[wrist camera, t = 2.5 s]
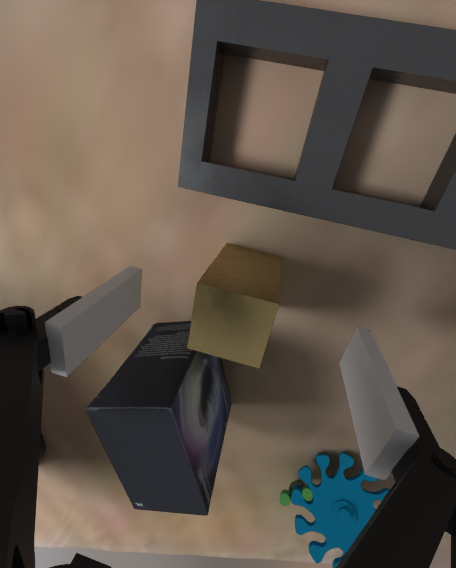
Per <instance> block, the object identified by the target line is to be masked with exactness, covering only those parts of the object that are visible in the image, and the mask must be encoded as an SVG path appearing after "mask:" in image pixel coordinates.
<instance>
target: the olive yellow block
mask: <svg viewBox="0 0 456 568" xmlns="http://www.w3.org/2000/svg"><path fill="white" fill-rule="evenodd" d="M281 262H282V257H281V256H277V255H273V254H269V253H264V252H260V251H256V250H252V249H248V248H244V247H240V246H236V245H231V244H227V243H226V245H225V246H224V247H223V249H222V250H221V251H220V253H219V254H218V255H217V257H216V258H215V260H214V261H213V262H212V264H211V265H210V266H209V268H208V269H207V270H206V272H205V273H204V274H203V276H202V277H201V279H200V280H199V281H198V283H197V288H196V294H195V301H194V308H193V314H192V321H191V327H190V334H189V340H188V347H187V348H188V349H192V350H196V351H199V352H203V353H206V354H210V355H213V356H217V357H220V358H224V359H227V360H231V361H234V362H238V363H241V364H245V365H248V366H252V367H255V368H260V365H261V361H262V358H263V355H264V352H265V349H266V345H267V342H268V339H269V336H270V332H271V329H272V326H273V323H274V320H275V316H276V313H277V310H278V307H279V300H280V281H281Z"/></svg>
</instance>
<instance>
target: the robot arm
mask: <svg viewBox="0 0 456 568" xmlns="http://www.w3.org/2000/svg"><path fill="white" fill-rule="evenodd" d="M141 279H142V269H141V268H137V267H133V266H130V267H128V268H127V269H125V270H123V271H122V272H120V273H119V274H117V275H116V276H114V277H113V278H111V279H110V280H108V281H107V282H105V283H104V284H102V285H101V286H99V287H98V288H96V289H95V290H93V291H91V292H90V293H88V294H87V295H85V296H84V297H81V296H76V297H73V298H70V299H67V300H66V301H64V302H63V303H61V304H60V305H58V306H56V307H55V308H53V310H52V309H51V310H50V311H48V312H47V313H45V314H43V315H42V316H40V317H38V318H37V319H35V314H34V310H33V309H32V308H30V307H26V306H14V307H8V308H5V309H3V310H1V311H0V568H35V552H34V532H35V515H36V499H37V482H38V465H39V461H40V460H41V459H42V457H43V455H44V451H45V448H44V442H43V439H42V437H41V435H40V432H41V415H42V398H43V381H44V371H43V368H44V367H45V366H47V365H48V364H49V363H50V365H51V372H52V373H55V374H58V375H61V376H64V377H68V376H69V375H70V374H71V373H72V372H73V371H74V370H75V369H76V368H77V367H78V366H79V365H80V364H81V363H82V362H83V361H84V360H85V359H86V358H87V357H88V356H89V355H90V354H91V353H92V352H94V351H95V350H96V349H97V348H98V347H99V346H100V345H101V344H102V343H103V342H104V341H105V340H106V339H107V338H108V337H109V336H110V335H111V334H112V333H113V332H114V331H115V330H116V329H117V328H118V327H119V326H120V325H121V324H123V323H124V322H125V321H126V320H127V319H128V318H129V317H130V316H131V315H132V314H133V313H134V312H135V311H136V310H137V309H138V308H139V307H140V300H141ZM339 364H340V368H341V373H342V377H343V381H344V386H345V390H346V394H347V399H348V403H349V407H350V412H351V416H352V420H353V425H354V429H355V433H356V438H357V442H358V446H359V451H360V455H361V459H362V464H363V468H364V472H365V475H369V476H372V477H375V478H378V479H381V480H384V481H385V480H386V479H387V477H388V476H389V475H390V474H391V472H392V473H393V477H394V480H395V484H394V485H393V487H392V488H391V489H390V490H389V491H388V493H387V494H386V495H385V496H384V498H383V501H382V502H381V504H380V505H379V506H378V508H377V509H376V511H375V512H374V514H373V515H372V516H371V518H370V519H369V521H368V522H367V524H366V525H365V526H364V528H363V529H362V531H361V532H360V534H359V535H358V536H357V538H356V539H355V541H354V542H353V544H352V545H351V546H350V548H349V549H348V551H347V552H346V554H345V555H344V556H343V558H342V559H341V561H340V562H339V564H338V565H337V566H336V568H429V567H430V564H431V562H432V560H433V557H434V555H435V553H436V550H437V548H438V546H439V543H440V541H441V539H442V536H443V534H444V532H445V531H446V532H447V533H449V534H451V568H456V459H455V458H454V457H453V456H451V455H450V454H449V453H447V452H446V451H444V450H443V449H441V448H440V447H439V445H438V443H437V441H436V439H435V437H434V435H433V433H432V431H431V429H430V428H429V426H428V424H427V422H426V420H425V419H424V416H423V414H422V412H421V411H420V408H419V406H418V404H417V402H416V400H415V399H414V397H413V396H412V395H411V394H410V393H409V392H408V391H407V390H406V389H404V388H400V387H397V386H396V384H395V382H394V380H393V378H392V375H391V373H390V371H389V369H388V367H387V365H386V362H385V360H384V358H383V356H382V354H381V351H380V349H379V347H378V345H377V343H376V341H375V338H374V336H373V334H372V332H371V330H368V329H365V328H361V327H356V329H355V331H354V333H353V336H352V338H351V340H350V342H349V344H348V346H347V348H346V350H345V352H344V354H343V356H342V358H341V361H340V363H339ZM50 568H111V567H110V566H108V565H105V564H103V563H100V562H98V561H95V560H93V559H90V558H88V557H86V556H83V555H80V554H78V553H76V555H75V557H74V559H73V560H72V562H71V564H64V565H58V566H54V567H50Z"/></svg>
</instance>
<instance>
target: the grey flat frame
mask: <svg viewBox="0 0 456 568" xmlns="http://www.w3.org/2000/svg"><path fill="white" fill-rule="evenodd" d="M224 54H230V55H236V56H241V57H247V58H253V59H259V60H264V61H270V62H276V63H282V64H287V65H293V66H299V67H305V68H311V69H316V70H322V71H324V74H323V77H322V81H321V85H320V88H319V92H318V96H317V99H316V103H315V106H314V110H313V114H312V117H311V121H310V125H309V128H308V132H307V136H306V139H305V143H304V146H303V150H302V154H301V157H300V161H299V165H298V168H297V172H296V175H295V179H289V178H285V177H280V176H275V175H271V174H266V173H261V172H257V171H252V170H247V169H243V168H238V167H233V166H229V165H224V164H219V163H215V162H210V161H209V158H210V151H211V144H212V137H213V130H214V123H215V116H216V109H217V102H218V95H219V88H220V81H221V74H222V67H223V60H224ZM369 79H374V80H380V81H386V82H391V83H397V84H403V85H409V86H414V87H420V88H426V89H432V90H437V91H443V92H449V93H455V94H456V30H451V29H444V28H438V27H431V26H425V25H418V24H412V23H405V22H398V21H392V20H385V19H379V18H372V17H366V16H359V15H352V14H346V13H339V12H333V11H326V10H320V9H313V8H306V7H300V6H293V5H287V4H280V3H274V2H267V1H260V0H197V2H196V12H195V22H194V32H193V42H192V52H191V62H190V72H189V82H188V92H187V102H186V111H185V121H184V131H183V141H182V151H181V161H180V171H179V181H178V187H181V188H185V189H190V190H194V191H198V192H203V193H207V194H212V195H216V196H221V197H225V198H229V199H234V200H238V201H243V202H247V203H252V204H256V205H260V206H265V207H269V208H274V209H278V210H283V211H287V212H291V213H296V214H300V215H305V216H309V217H314V218H318V219H322V220H327V221H331V222H336V223H340V224H345V225H349V226H353V227H358V228H362V229H367V230H371V231H376V232H380V233H384V234H389V235H393V236H398V237H402V238H407V239H411V240H415V241H420V242H424V243H429V244H433V245H438V246H442V247H447V248H451V249H455V250H456V134H455V136H454V138H453V140H452V142H451V144H450V146H449V149H448V151H447V153H446V155H445V157H444V159H443V161H442V163H441V165H440V167H439V169H438V171H437V173H436V175H435V177H434V179H433V181H432V184H431V186H430V188H429V190H428V192H427V194H426V196H425V198H424V200H423V202H422V204H421V206H416V205H411V204H406V203H402V202H397V201H392V200H388V199H383V198H378V197H374V196H369V195H364V194H360V193H355V192H350V191H346V190H341V189H336V188H332V187H333V184H334V181H335V178H336V175H337V172H338V169H339V166H340V163H341V160H342V157H343V154H344V151H345V148H346V145H347V142H348V139H349V136H350V133H351V130H352V127H353V124H354V121H355V118H356V115H357V113H358V110H359V107H360V104H361V101H362V98H363V95H364V92H365V89H366V86H367V83H368V80H369Z"/></svg>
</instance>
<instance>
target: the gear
mask: <svg viewBox="0 0 456 568" xmlns="http://www.w3.org/2000/svg"><path fill="white" fill-rule="evenodd" d="M316 461H317V464H318V465H319V467H320V469H321V483H320V484H319V485H315V484H313V483H312V481H311V470H310V468H309V467H308V466H307V465H306V466H303V467H302V468H301V469H300V470H299V471H298V475H299V477H300V479H301V480H303V481H304V482H305V483H306V484H304V483H301V482H300V481H298V480H296V481H294V482H292V483H291V484H290V487H289V491H288V490H283V491H282V492H281V495H280V502H281V504H282V505H284V506H287V505H289V503H290V499H291V502H292V503H293V504H294V505H300V506H303V507H305V508H306V509H308V510H309V511H310V512H311V513H312V514H313V515H314V517H315V521H314V522H312V523H310V522H308V521H307V520H306V519H305V518H304V517H303V516H302V515H296V517H295V528H296V533H297V534H299V535H303V534H304V533H306V532H309V531H315V532H318V533H321V534H323V535H324V536H325V538H326V540H325V542H324V543H319V542H317V541H311V542H310V543H309V551H310V554H311V556H312V558H313V559H314V561H315V562H316V563H320V562H321V561H322V559H323V556H324V555H325V553H326V552H327V551H328V550H330V549H333V548H336V547H338V548H340V549H342V550H343V552H344V553H343V555H342V556H341V557H339V558H336V559H334V561H333V564H332V565H333V568H336V566H337V565H338V564H339V562H340V561H341V559H342V558H343V556H344V555H345V554H346V552H347V551H348V549H349V548H350V546H351V545H352V544H353V542H354V541H355V539H356V538H357V536H358V535H359V534H360V532H361V531H362V529H363V528H364V526H365V525H366V524H367V522H368V521H369V519H370V518H371V516H372V515H373V514H374V512H375V511H376V509H375V508H374V507H373V502H374V501H375V500H381V501H383V498H384V496H385V495H386V494H387V493H388V491H389V490H390V489H388V488H384V489H382V490H380V491H378V492H370V491H367V490H364V489H362V488H361V482H362V481H363V480H368V481H371V482H375V481H376V480H377V479H378V478H375V477H372V476H369V475H365V472H364V468H362V471H361V472H360V473H359V474H358V475H357V476H355V477H352V478H346V477H345V476H344V474H343V472H344V470H345V469H346V468H350V467H352V466H353V463H354V460H353V458H352V457H351V456H349V455H348V454H346V453H343V452H341V453H340V454H339V468H338V470H337V472H336V473H335V475H334V476H332V477H330V476H328V475H327V474H326V473H325V470H326V468H327V467H328V465H329V463H330V461H329V457H328V455H326V454H317V455H316Z"/></svg>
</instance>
